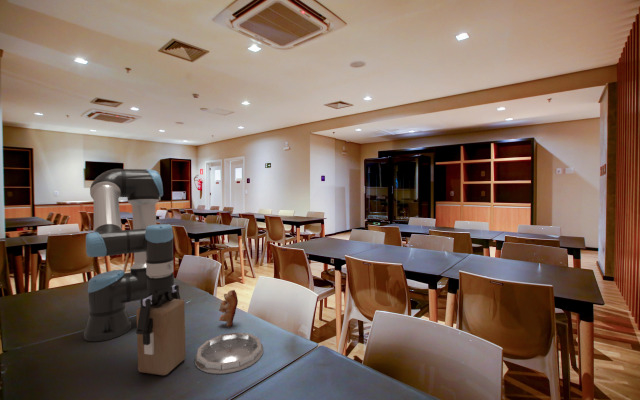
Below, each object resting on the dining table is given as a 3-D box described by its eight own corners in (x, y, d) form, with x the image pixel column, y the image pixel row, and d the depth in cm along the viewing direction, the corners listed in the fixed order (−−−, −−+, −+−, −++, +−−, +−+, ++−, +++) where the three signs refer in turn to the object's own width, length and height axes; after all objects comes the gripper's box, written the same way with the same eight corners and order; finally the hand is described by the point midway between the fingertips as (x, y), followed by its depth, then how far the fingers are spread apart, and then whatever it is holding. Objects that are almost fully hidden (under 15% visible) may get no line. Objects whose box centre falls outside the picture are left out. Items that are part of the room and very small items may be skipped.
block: (165, 377, 89) (163, 311, 88) (136, 373, 91) (134, 308, 90) (187, 358, 99) (185, 298, 98) (160, 355, 101) (158, 296, 100)
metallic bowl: (179, 369, 94) (179, 361, 94) (218, 335, 115) (218, 329, 115) (245, 378, 89) (245, 370, 89) (272, 341, 111) (272, 334, 111)
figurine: (221, 323, 126) (220, 287, 125) (239, 322, 126) (239, 287, 126) (217, 330, 120) (216, 292, 119) (236, 329, 120) (236, 292, 120)
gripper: (142, 287, 82) (144, 366, 83) (193, 265, 104) (195, 329, 105) (119, 285, 84) (121, 363, 85) (174, 264, 106) (176, 327, 107)
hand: (162, 344), depth 95 cm, fingers closed on block, 10 cm apart
